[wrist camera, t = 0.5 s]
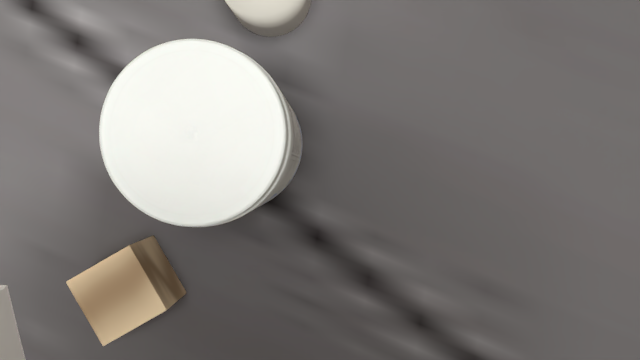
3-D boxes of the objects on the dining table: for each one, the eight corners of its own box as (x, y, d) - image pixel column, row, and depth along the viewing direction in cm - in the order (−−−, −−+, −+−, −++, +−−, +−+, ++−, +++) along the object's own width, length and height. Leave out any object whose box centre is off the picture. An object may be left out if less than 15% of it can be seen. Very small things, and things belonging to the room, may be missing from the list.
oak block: (186, 292, 42) (166, 310, 37) (130, 324, 42) (103, 346, 37) (153, 235, 42) (129, 245, 37) (97, 267, 42) (65, 281, 37)
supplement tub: (205, 226, 42) (134, 262, 27) (157, 109, 42) (59, 81, 27) (325, 178, 42) (318, 187, 27) (277, 60, 41) (243, 4, 27)
